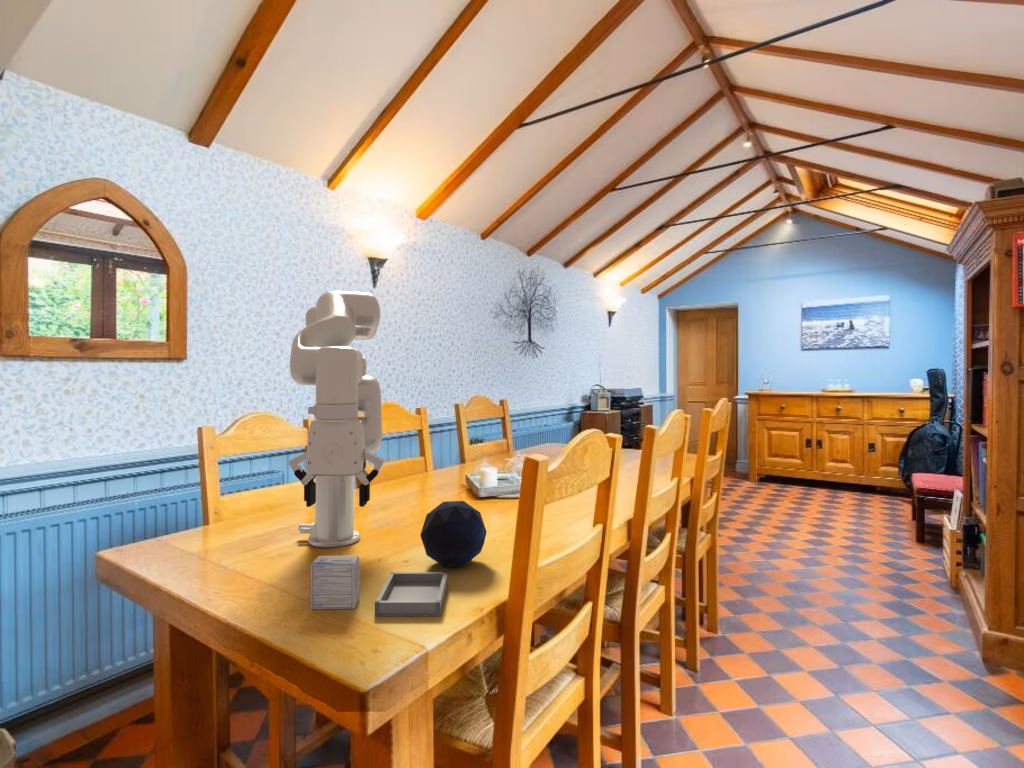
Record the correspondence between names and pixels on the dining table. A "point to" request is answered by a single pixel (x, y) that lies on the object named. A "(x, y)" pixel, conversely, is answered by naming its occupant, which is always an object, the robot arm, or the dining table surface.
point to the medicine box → (335, 582)
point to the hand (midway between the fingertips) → (337, 505)
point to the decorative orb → (453, 533)
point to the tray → (412, 594)
